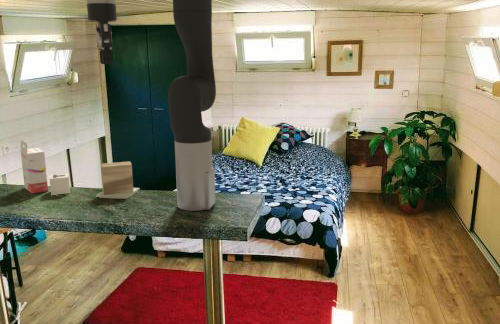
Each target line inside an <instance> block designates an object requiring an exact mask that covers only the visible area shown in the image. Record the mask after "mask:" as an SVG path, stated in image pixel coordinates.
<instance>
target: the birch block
mask: <svg viewBox="0 0 500 324" xmlns="http://www.w3.org/2000/svg"><path fill="white" fill-rule="evenodd" d="M100 170H101V171H100V173H101V174H100V175H101V186H102V191H103V193H104V195H109V194H118V193H127V192H134V191H133V188H134V179H133V177H134V176H133V164H132V162H131V160H130V161H129V160H128V161H121V162H119V161H118V162H108V163H105V162H104V163H101V164H100Z"/></svg>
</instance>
